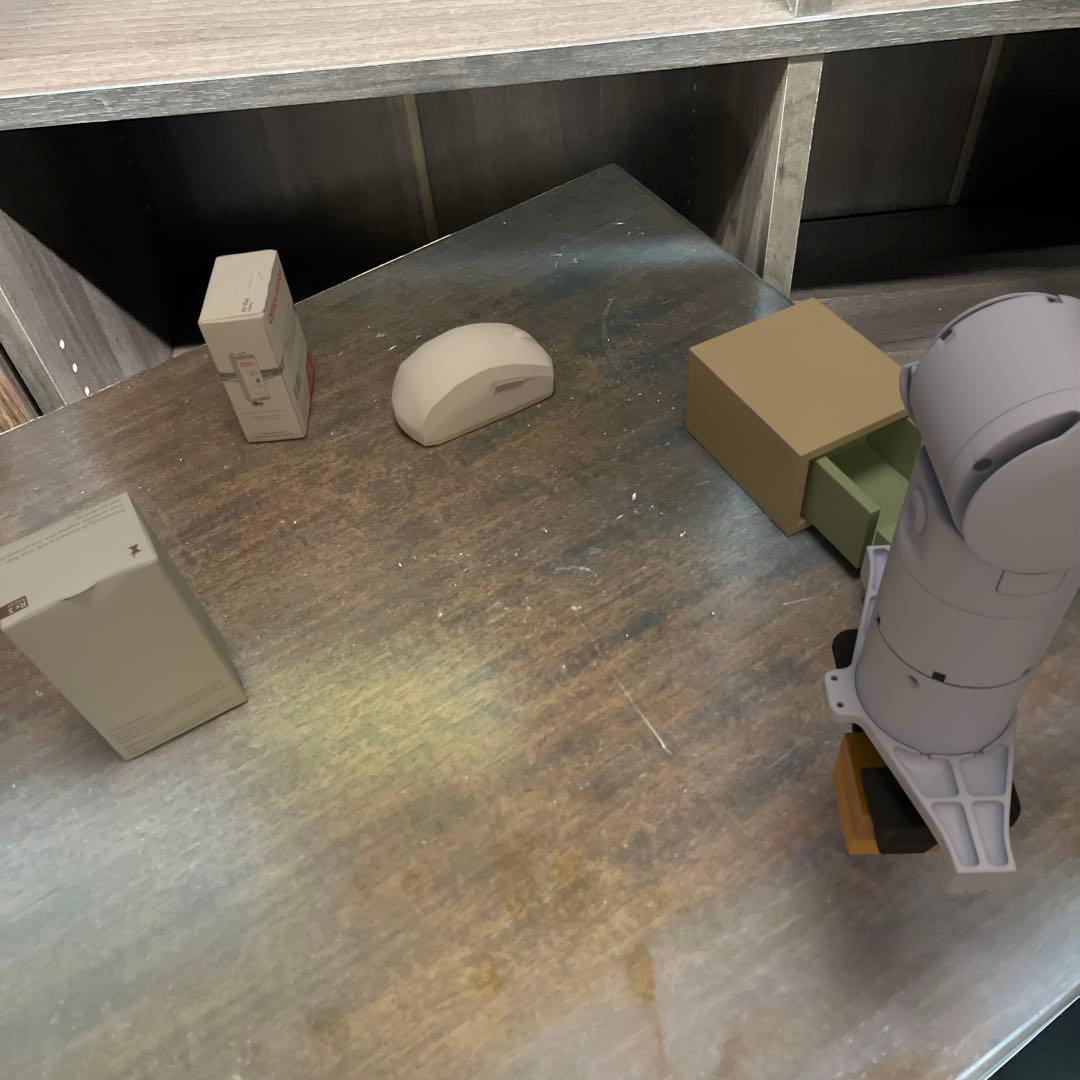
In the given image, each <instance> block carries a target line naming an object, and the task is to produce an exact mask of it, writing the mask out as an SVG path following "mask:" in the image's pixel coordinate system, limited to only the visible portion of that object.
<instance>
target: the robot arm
mask: <svg viewBox="0 0 1080 1080" xmlns="http://www.w3.org/2000/svg"><path fill="white" fill-rule="evenodd" d="M901 367H902V368H901V371H900V377H899V389H900V395H901V399H902V401H903V404H904V407H905V409H906V412H907V414H908V416H909V417H910V419H911V421H912V422H913V423H914V424H915V425H916V426H917V427H918V429H919V431H920V434H921V436H922V441H921V445H920V448H919V450H918V453H917V456H916V460H915V463H914V467H913V470H912V474H911V477H910V481H909V485H908V488H907V492H906V495H905V499H904V502H903V505H902V508H901V510H900V514H899V517H898V521H897V525H896V528H895V532H894V535H893V539H892V543H891V545H878V546H867V549H866V553H865V557H864V561H863V564H862V567H860V568H861V569H860V571H859V572H860V579H861V582H862V586H864V588H865V589H866V594H864V599H863V604H862V608H861V609H862V610H861V613H860V619H859V623H858V628H850V629H845V630H843V631H840V632H839V633H837V634H836V635H835V636H834V638H833V639H832V643H831V652H832V656H833V659H834V664H835V668H834V669H830V670H828V671H827V672H826V673H825V674H824V675H823V679H822V683H821V684H822V685H821V690H822V695H823V701H824V704H825V710H826V713H827V715H828V717H829V718H830V719H831V720H833V721H834V722H836V723H841V724H851V732H865V733H866V734H867V736H868V737H869V739H870V740H871V742H872V743H873V745H874V746H875V748H876V749H877V751H878V752H879V754H880V755H881V757H882V758H883V760H884V761H885V763H886V764H887V766H888V767H867V768H861V770H860V776H861V781H862V785H863V790H864V794H865V799H866V803H867V808H868V811H869V814H870V817H871V819H872V822H873V824H874V833H875V839H876V843H877V847H878V851H879V852H880V853H879V854H881V855H913V854H917V855H918V854H925V853H928V852H927V851H928V850H929V849H931V848H932V847H934V846H935V845H937V844H939V846H940V851H941V852H942V855H943V858H942V861H941V862H940V864H939V866H938V876H939V879H940V882H941V887H942V890H943V893H944V894H946V895H956V894H957V895H958V894H964V895H969V894H970V895H973V894H976V895H977V894H996V893H997V894H998V893H999V894H1000V893H1002V892H1003V891H1004V889H1005V888H1006V887H1007V885H1008V884H1009V882H1010V881H1011V879H1012V878H1013V876H1015V873H1016V872H1017V865H1016V862H1015V859H1014V854H1013V851H1012V845H1011V838H1010V828H1013V827H1014V826H1015V824H1016V823H1017V821H1018V820H1019V817H1020V815H1021V812H1022V805H1021V799H1020V797H1019V794H1018V791H1017V788H1016V786H1015V782H1014V780H1013V775H1014V763H1015V748H1016V735H1017V733H1016V732H1017V723H1018V722H1017V721H1018V710H1019V709H1018V708H1019V707H1018V705H1019V703H1020V702H1021V700H1022V697H1023V696H1024V694H1025V692H1026V690H1027V688H1028V687H1029V684H1030V683H1031V680H1032V679H1033V676H1034V675H1035V673H1036V672H1037V669H1038V667H1039V666H1040V663H1041V661H1042V660H1043V657H1044V655H1045V653H1046V652H1047V650H1048V649H1049V646H1050V644H1051V642H1052V640H1053V638H1054V636H1055V634H1056V632H1057V631H1058V629H1059V627H1060V625H1061V624H1062V621H1063V619H1064V618H1065V615H1066V613H1067V612H1068V610H1069V608H1070V606H1071V604H1072V602H1073V601H1074V599H1075V596H1076V595H1077V593H1078V591H1079V590H1080V298H1077V297H1074V296H1071V295H1065V294H1059V293H1058V295H1053V294H1050V293H1046V292H1039V291H1025V292H1014V293H1007V294H1003V295H999V296H996V297H993V298H990V299H987V300H985V301H982V302H980V303H978V304H976V305H974V306H972V307H970V308H968V309H966V310H965V311H963V312H962V313H960V314H959V315H957V316H956V317H954V318H953V319H952V320H950V321H949V322H948V323H947V324H946V325H945V326H944V327H943V328H942V329H941V330H940V331H938V333H937V334H936V335H935V337H933V339H932V340H931V342H930V343H929V345H928V347H927V348H926V350H925V352H924V354H923V356H922V358H920V359H918V360H917V361H914V362H908V363H905V364H904V365H903V366H901Z"/></svg>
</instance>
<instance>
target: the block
mask: <svg viewBox="0 0 1080 1080" xmlns="http://www.w3.org/2000/svg"><path fill="white" fill-rule="evenodd" d="M867 767H888V766H887V764H886V763H885V761H884V760H883V758H882V757H881V755H880V754H879V752H878V751H877V749H876V748H875V746H874V745H873V743H872V742H871V740H870V739H869V737H868V736H867V734H866V733H865V732H852V731H851V732H844V733H843V736H842V739H841V743H840V746H839V750H838V754H837V757H836V760H835V764H834V768H833V771H832V774H831V775H832V781H833V786H834V791H835V797H836V801H837V805H838V810H839V815H840V819H841V825H842V830H843V834H844V839H845V844H846V849H847V854H848V855H871V854H872V855H873V854H875V855H876V854H877V855H878V854H881V853H880V852H879V851H878V847H877V843H876V839H875V833H874V824H873V822H872V819H871V817H870V814H869V811H868V808H867V803H866V799H865V794H864V790H863V785H862V781H861V776H860V770H861V768H867ZM940 851H941V848H940V846H939V844H937V845H935V846H934V847H932V848H931V849H929V850H928V851H927V852H926V853H938V852H940Z"/></svg>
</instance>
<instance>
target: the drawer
mask: <svg viewBox="0 0 1080 1080" xmlns="http://www.w3.org/2000/svg"><path fill="white" fill-rule="evenodd" d="M921 441H922V436H921V434H920V431H919V429H918V427H917V426H916V425H915V424H914V423H913V422H912V421H911V419H910V417H909V416H908V415H907V416H905V417H903V418H901V419H898V420H896V421H894V422H892V423H890V424H888V425H885V426H883V427H881V428H879V429H877V430H874V431H872V432H870V433H868V434H866V435H863V436H861V437H859V438H857V439H855V440H853V441H850V442H848V443H846V444H844V445H842V446H839V447H837V448H835V449H833V450H831V451H829V452H826V453H824V454H822V455H820V456H818V457H815V458H813V459H811V460H809V466H808V472H807V478H806V484H805V489H804V495H803V501H802V507H801V512H802V513H803V514H804V515H805V517H806V518H807V519H808V520H809V521H810V522H811V523H812V524H813V525H812V526H815V528H816V529H817V530H818V531H819V532H820V533H821V534H822V535H823V536H824V537H825V538H826V539H827V540H828V541H829V542H830V543H831V544H832V545H833V546H834V547H835V548H836V549H837V550H838V551H839V553H840V554H842V555H843V557H844V558H846V560H848V562H850V564H852V566H853V567H854V568H855V569H859V568H862V564H863V561H864V557H865V553H866V549H867V546H878V545H891V543H892V539H893V535H894V532H895V528H896V525H897V521H898V517H899V514H900V510H901V508H902V505H903V502H904V499H905V495H906V492H907V488H908V485H909V481H910V477H911V474H912V470H913V467H914V463H915V460H916V456H917V453H918V450H919V448H920V445H921ZM860 591H861V592H862V593H863V594H864V595H865V594H866V589H865V588H864V586H863V585H862V586H861V589H860Z"/></svg>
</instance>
